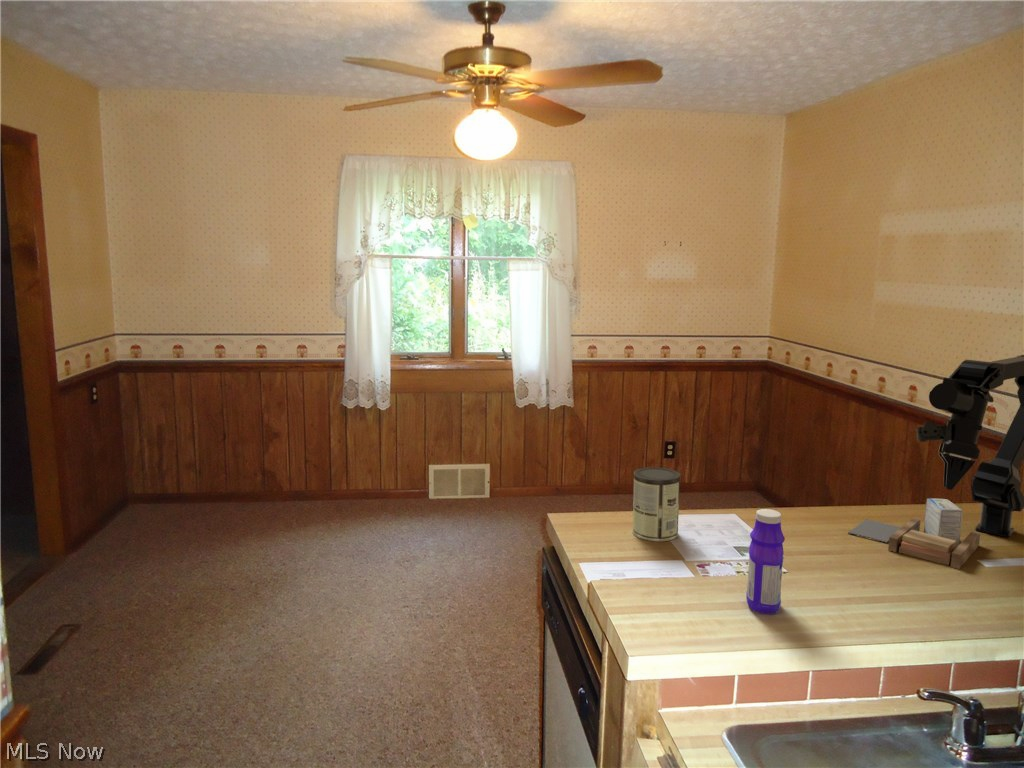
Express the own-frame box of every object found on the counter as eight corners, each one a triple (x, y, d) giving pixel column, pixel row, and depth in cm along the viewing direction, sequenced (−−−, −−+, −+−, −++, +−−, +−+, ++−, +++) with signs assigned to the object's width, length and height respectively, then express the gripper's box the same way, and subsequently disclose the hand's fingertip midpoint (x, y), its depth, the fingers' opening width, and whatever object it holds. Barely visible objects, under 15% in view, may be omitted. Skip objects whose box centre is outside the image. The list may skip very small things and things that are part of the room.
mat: (866, 520, 163) (866, 519, 163) (903, 529, 157) (903, 527, 157) (848, 533, 154) (848, 532, 154) (886, 543, 149) (886, 541, 149)
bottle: (782, 618, 116) (788, 521, 113) (747, 614, 118) (752, 517, 115) (777, 599, 123) (784, 507, 120) (744, 595, 124) (750, 504, 122)
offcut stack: (907, 544, 148) (908, 528, 148) (956, 557, 142) (958, 540, 141) (898, 553, 144) (899, 536, 143) (948, 566, 137) (950, 549, 137)
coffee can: (641, 522, 162) (643, 464, 159) (684, 530, 156) (686, 471, 154) (624, 535, 153) (626, 475, 151) (668, 545, 147) (671, 482, 145)
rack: (912, 530, 157) (913, 517, 156) (978, 545, 148) (980, 532, 147) (888, 550, 145) (889, 537, 144) (959, 569, 136) (960, 554, 135)
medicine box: (959, 549, 146) (964, 510, 145) (936, 547, 147) (940, 509, 145) (944, 535, 154) (948, 498, 152) (922, 534, 154) (926, 497, 153)
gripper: (922, 411, 158) (905, 476, 158) (925, 406, 142) (905, 478, 142) (979, 423, 152) (960, 490, 153) (988, 419, 136) (967, 495, 137)
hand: (947, 488), depth 146 cm, fingers open, 9 cm apart
